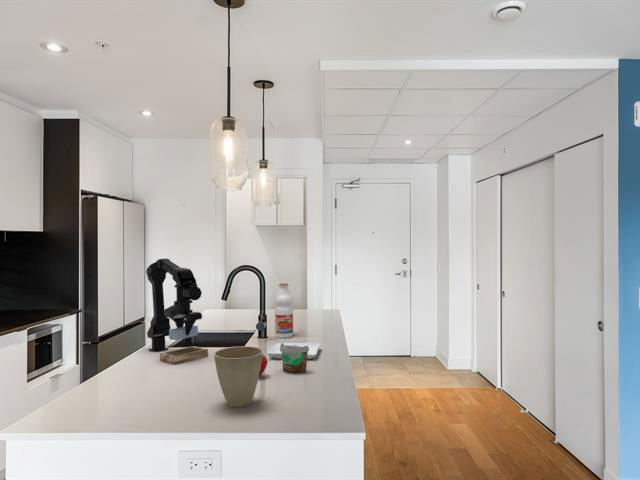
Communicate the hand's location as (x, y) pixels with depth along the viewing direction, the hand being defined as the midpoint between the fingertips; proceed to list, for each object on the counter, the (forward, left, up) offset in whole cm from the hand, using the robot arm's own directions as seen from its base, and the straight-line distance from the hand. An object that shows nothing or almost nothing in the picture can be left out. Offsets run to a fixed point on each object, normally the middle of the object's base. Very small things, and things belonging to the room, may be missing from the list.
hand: (183, 334), depth 198 cm
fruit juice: (+4, +59, -11) cm, 60 cm away
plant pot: (+61, -22, -11) cm, 66 cm away
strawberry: (+46, +1, -11) cm, 47 cm away
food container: (+51, +13, -11) cm, 54 cm away
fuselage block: (0, 0, -1) cm, 1 cm away
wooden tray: (0, 0, -10) cm, 10 cm away
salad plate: (+34, +34, -11) cm, 49 cm away
